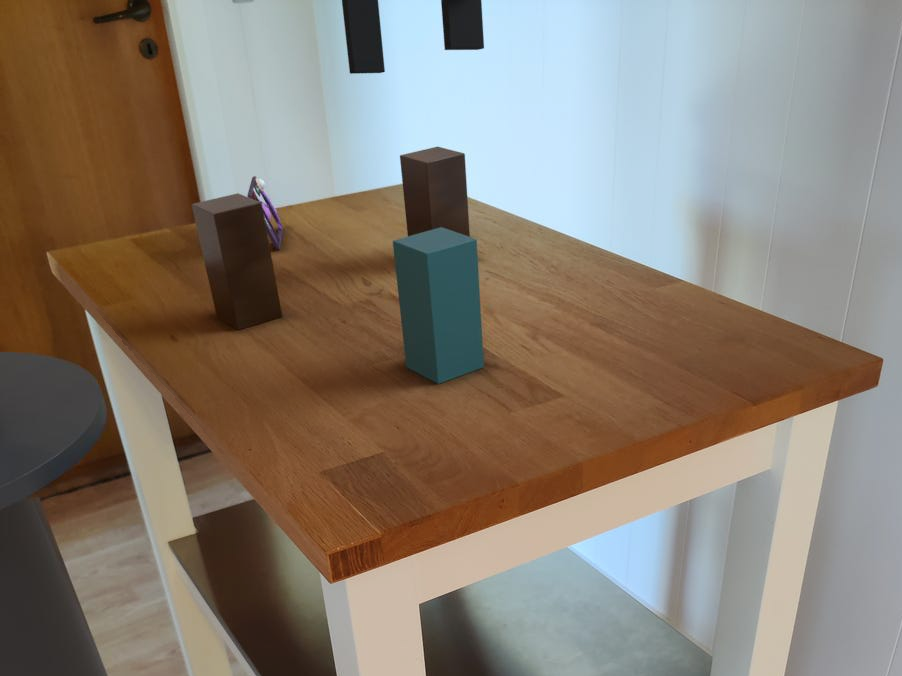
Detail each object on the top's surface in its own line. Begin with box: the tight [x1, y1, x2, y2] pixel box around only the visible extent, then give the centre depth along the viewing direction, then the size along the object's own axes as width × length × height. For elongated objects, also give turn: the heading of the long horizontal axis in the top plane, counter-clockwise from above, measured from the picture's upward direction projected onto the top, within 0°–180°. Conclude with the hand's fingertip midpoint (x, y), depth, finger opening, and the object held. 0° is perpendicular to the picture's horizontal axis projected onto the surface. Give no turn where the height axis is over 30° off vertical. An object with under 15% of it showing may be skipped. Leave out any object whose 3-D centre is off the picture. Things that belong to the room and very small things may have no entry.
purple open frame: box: [246, 175, 284, 251], centre depth 120 cm, size 7×5×9 cm
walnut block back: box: [399, 146, 471, 237], centre depth 108 cm, size 5×5×11 cm
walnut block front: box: [191, 193, 283, 330], centre depth 98 cm, size 5×5×11 cm
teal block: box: [392, 227, 485, 385], centre depth 85 cm, size 5×5×11 cm
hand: (412, 62), depth 72 cm, fingers open, 13 cm apart
